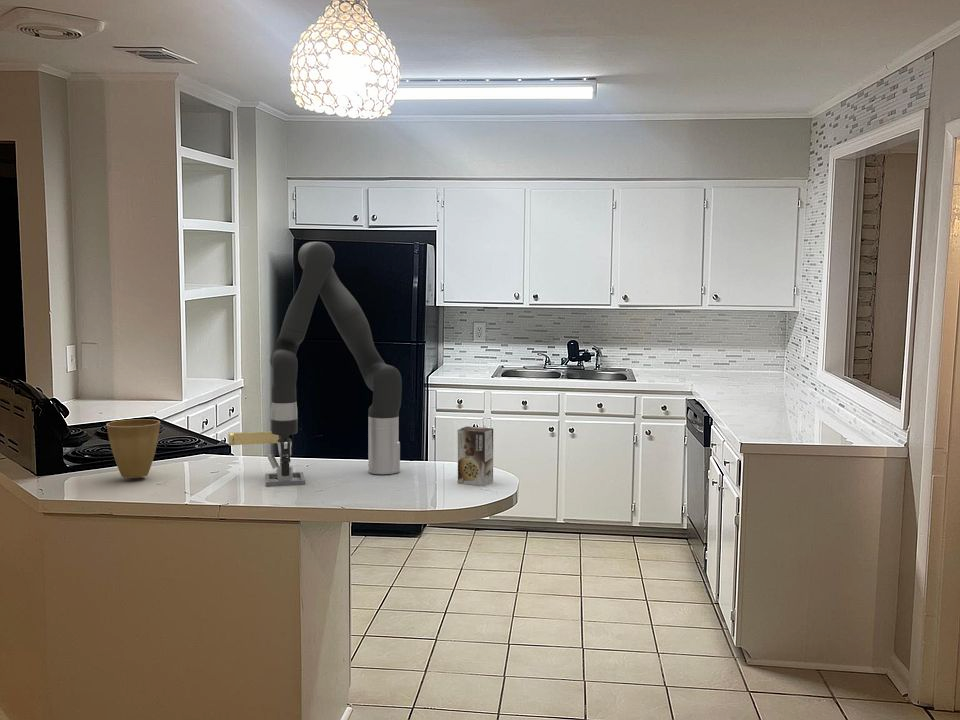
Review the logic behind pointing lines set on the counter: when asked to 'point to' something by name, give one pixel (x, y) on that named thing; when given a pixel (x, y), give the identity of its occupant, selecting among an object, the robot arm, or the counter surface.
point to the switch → (283, 483)
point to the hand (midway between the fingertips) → (284, 472)
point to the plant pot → (133, 445)
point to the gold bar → (252, 438)
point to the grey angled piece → (279, 475)
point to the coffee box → (475, 456)
